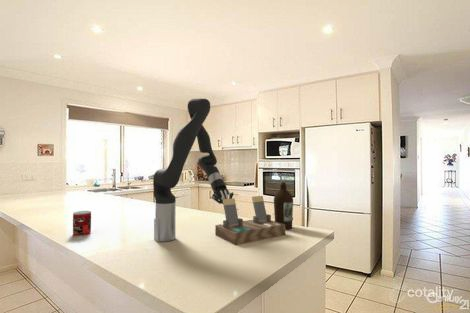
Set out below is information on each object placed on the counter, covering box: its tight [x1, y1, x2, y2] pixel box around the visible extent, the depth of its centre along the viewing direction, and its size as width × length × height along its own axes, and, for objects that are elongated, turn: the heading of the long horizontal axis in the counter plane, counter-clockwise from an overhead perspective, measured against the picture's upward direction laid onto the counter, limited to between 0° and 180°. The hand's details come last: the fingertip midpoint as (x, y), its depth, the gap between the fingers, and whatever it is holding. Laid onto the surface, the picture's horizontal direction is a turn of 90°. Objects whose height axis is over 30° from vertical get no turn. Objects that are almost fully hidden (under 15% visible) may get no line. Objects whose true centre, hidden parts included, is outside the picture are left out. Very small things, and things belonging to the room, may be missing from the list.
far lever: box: [251, 195, 267, 222], centre depth 139 cm, size 6×2×13 cm, turn 122°
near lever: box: [222, 197, 239, 227], centre depth 130 cm, size 6×2×13 cm, turn 122°
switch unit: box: [214, 213, 286, 246], centre depth 131 cm, size 30×18×8 cm, turn 122°
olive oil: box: [273, 181, 294, 231], centre depth 146 cm, size 11×11×25 cm
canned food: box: [72, 210, 92, 237], centre depth 133 cm, size 8×8×11 cm
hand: (228, 209), depth 132 cm, fingers closed
